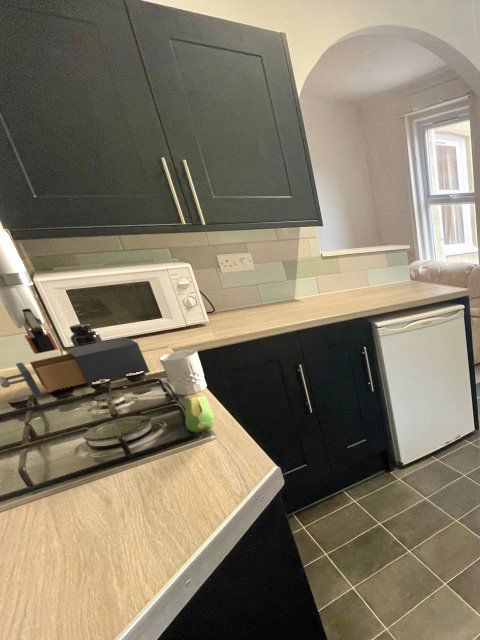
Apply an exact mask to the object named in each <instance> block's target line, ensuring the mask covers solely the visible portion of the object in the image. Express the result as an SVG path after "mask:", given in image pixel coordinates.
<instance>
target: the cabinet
mask: <svg viewBox="0 0 480 640" xmlns="http://www.w3.org/2000/svg"><path fill="white" fill-rule="evenodd" d="M65 352H66V354H70V355H71V356H73V357H74V358H75V359H76V361H77V363H78V365H79V367H80V369H81V371H82V373H83V375H84V377H85V379H86V381H87V383H85V384H86V386H88V387H89V388H92V387H91V384H92V382H96V381H99V380H100V379H110V381H111V382H116V381H120V380H123V379H127V378H126V374H129V373H136V372H140V371H144V372H145V373H144V374H146V373H149V372H150V369H149V367H148V364H147V362H146V360H145V357H144V355H143V353H142V350H141V348H140V346H139V343H138V342H137V341H135V340H132V339H130V338H128V337H126V336H122V337H117V338H113V339H107V340H104V341H103V340H102V342H98V343H93V344H88V345H84V346H79V347H74V346H73V347H71V348H66V349H65ZM111 382H110V383H111Z"/></svg>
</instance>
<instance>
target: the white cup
mask: <svg viewBox="0 0 480 640" xmlns="http://www.w3.org/2000/svg"><path fill="white" fill-rule="evenodd" d="M159 361H160V364H161V366H162V367H163V369H164V372H165V374H166V376H167V378H168V380H169V382H170V384H171V385H172V387H173V389H174V392H175V393H176V394H177V395H178V396H188V395H189V396H190V395H192V394H197V393H199V392H202V391H204V390H206V389H207V386H208V384H207V382H206V379H205V373H204V370H203V366H202V364H201V360H200V357H199V354H198V350H195V349H184V350H178V351H177V350H176V351H172V352H169V353H167V354H163V355H162V356H160V357H159Z"/></svg>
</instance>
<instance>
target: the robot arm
mask: <svg viewBox="0 0 480 640" xmlns="http://www.w3.org/2000/svg"><path fill="white" fill-rule="evenodd" d="M32 285H34V282H33V281H32V279H31V277H30V275H29V273H28V271H27V269H26V267H25V265H24V263H23V261H22V259H21V257H20V255H19V253H18V251H17V249H16V247H15V245H14V243H13V241H12V239H11V237H10V235H9V234H8V232H7V231H5V230H4V229H1V228H0V300H1V302H2V304H3V306H4V308H5V310H6V312H7V313H8V316H9V317H10V319H11V321H12V323H13V325H14V326H15V327H16V328H18V329H23V328H24V330H25V331H26V334H27V335H31V337H32V338H31V340H32V342H33V344H34V346H35V348H36V349H37V351H38V352H39V353H38V354H41V353H46V352H47V353H48V352H52V351H56V350H55V348H54V346H53V344H52V342H51V340H50V338H49V336H48V335H47V334H46V330H45V329H44V327H43V325H44V324H45V320H44V318H43V316H42V313H41V310H40V308H39V307H38V304H37V301H36V300H35V297H34V296H33V294H32V292H31V290H30V288H29V286H32Z"/></svg>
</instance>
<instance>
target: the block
mask: <svg viewBox="0 0 480 640" xmlns="http://www.w3.org/2000/svg"><path fill="white" fill-rule="evenodd" d="M45 332H46V334H47V335H48V336H49V338H50V340H51V342H52V344H53V346H54V348H55V350H54V351H56V350H57V351H58V350H59V347H58V346H57V343H56V342H55V340H54V337H53V336H52V333H51V332H49V331H48V330H47V331H46V330H45ZM24 338H25V340H26V342H27V344H28V345H29V347H30V349H31V351H32V352H33V353H34V354H35V355H37V354H40V353H39V352H38V351H37V349H36V348H35V346H34V344H33V342H32V340H31V338H32V337H31V335H28V334H25V335H24Z"/></svg>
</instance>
